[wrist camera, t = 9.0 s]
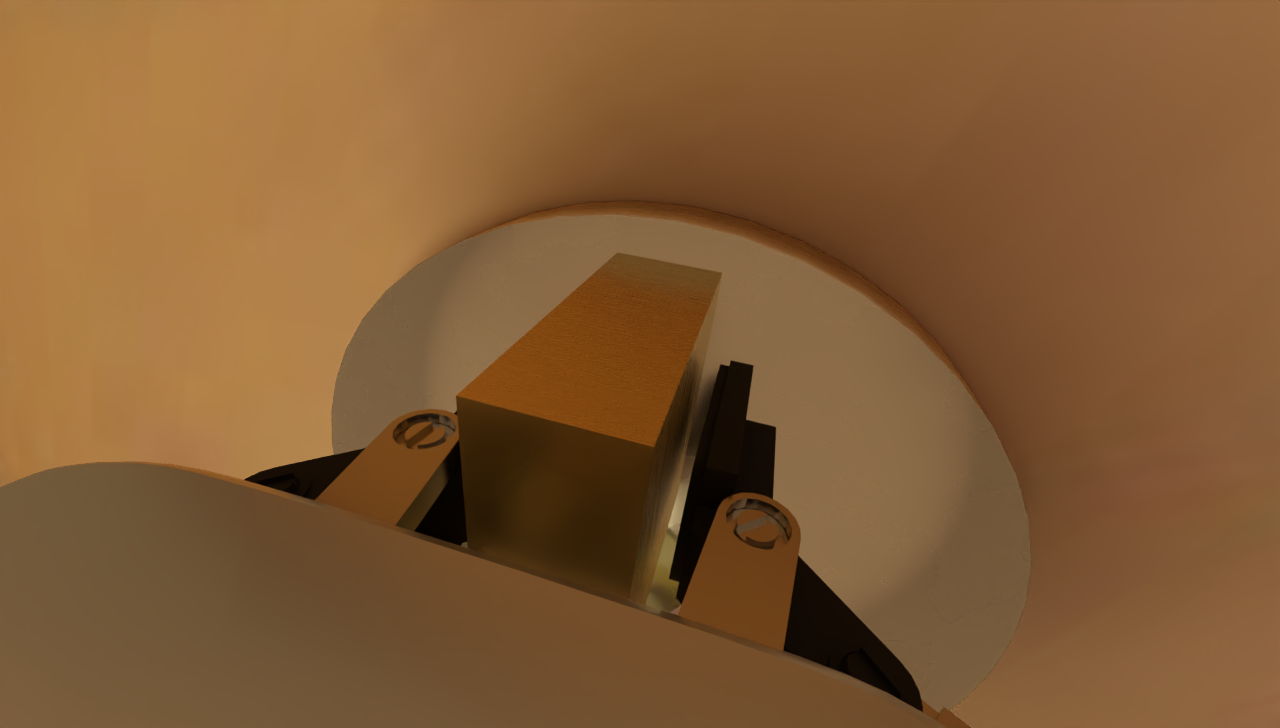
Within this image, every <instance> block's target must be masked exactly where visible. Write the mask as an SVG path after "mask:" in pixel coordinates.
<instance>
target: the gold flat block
mask: <svg viewBox="0 0 1280 728" xmlns="http://www.w3.org/2000/svg"><path fill="white" fill-rule="evenodd" d="M721 278H722V272H716V271H711V270H706V269H701V268H696V267H691V266H686V265H680V264H675V263H670V262H665V261H660V260H655V259H649V258H644V257H639V256H634V255H629V254H624V253H618V252H617V253H616V254H615V255H614V256H613V257H612V258H610V259H609V260H608V261H607V262H606V263H605V264H604V265H603V266H601V267H600V268H599V269H598V270H597V271H596V272H595V273H594V274H592V275H591V276H590V277H589V278H588V279H587V280H586V281H585V282H583V283H582V284H581V285H580V286H579V287H578V288H577V289H576V290H574V291H573V292H572V293H571V294H570V295H569V296H568V297H567V298H565V299H564V300H563V301H562V302H561V303H560V304H559V305H557V306H556V307H555V308H554V309H553V310H552V311H551V312H550V313H548V314H547V315H546V316H545V317H544V318H543V319H542V320H541V321H539V322H538V323H537V324H536V325H535V326H534V327H533V328H532V329H530V330H529V331H528V332H527V333H526V334H525V335H524V336H523V337H521V338H520V339H519V340H518V341H517V342H516V343H515V344H514V345H512V346H511V347H510V348H509V349H508V350H507V351H506V352H504V353H503V354H502V355H501V356H500V357H499V358H498V359H497V360H495V361H494V362H493V363H492V364H491V365H490V366H489V367H488V368H486V369H485V370H484V371H483V372H482V373H481V374H480V375H479V376H477V377H476V378H475V379H474V380H473V381H472V382H471V383H470V384H468V385H467V386H466V387H465V388H464V389H463V390H462V391H461V392H459V393H458V394H457V395H456V405H457V417H458V430H459V442H460V455H461V467H462V480H463V493H464V505H465V518H466V530H467V543H468V548H469V549H472V550H475V551H478V552H481V553H484V554H488V555H491V556H494V557H497V558H500V559H503V560H507V561H510V562H513V563H516V564H519V565H522V566H525V567H529V568H532V569H535V570H538V571H541V572H544V573H548V574H551V575H554V576H557V577H560V578H563V579H566V580H570V581H573V582H576V583H579V584H582V585H585V586H588V587H591V588H594V589H598V590H601V591H604V592H607V593H610V594H613V595H616V596H619V597H622V598H625V599H628V600H632V601H635V602H638V603H641V604H644V605H646V602H647V598H648V595H649V591H650V588H651V584H652V581H653V577H654V574H655V570H656V567H657V563H658V560H659V556H660V553H661V549H662V546H663V542H664V539H665V536H666V532H667V529H668V525H669V522H670V518H671V515H672V511H673V508H674V504H675V501H676V497H677V494H678V490H679V485H680V480H681V475H682V470H683V466H684V461H685V456H686V451H687V446H688V441H689V436H690V431H691V426H692V421H693V416H694V411H695V406H696V401H697V397H698V392H699V387H700V382H701V377H702V372H703V367H704V362H705V357H706V352H707V347H708V342H709V337H710V333H711V328H712V323H713V318H714V313H715V308H716V303H717V298H718V293H719V288H720V283H721Z"/></svg>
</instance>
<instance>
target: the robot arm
mask: <svg viewBox="0 0 1280 728" xmlns="http://www.w3.org/2000/svg"><path fill="white" fill-rule="evenodd" d="M753 367H754V365H750V364H745V363H741V362H736V361H732V360H731V361H730V365H729V366H727V365H722V364H720V367H719V370H718V374H717V378H716V382H715V385H714V389H713V393H712V397H711V400H710V404H709V408H708V412H707V415H706V419H705V423H704V426H703V430H702V434H701V438H700V441H699V445H698V449H697V453H696V456H695V460H694V465H693V469H692V473H691V478H690V482H689V487H688V491H687V496H686V501H685V505H684V510H683V515H682V519H681V524H680V529H679V533H678V538H677V543H676V547H675V552H674V557H673V561H672V566H671V570H670V575H669V579H670V580H674V581H677V582H679V585H678V590H677V594H676V598H675V599H677V600H679V602H680V603H681V608H680V610H679V613H678V615H675V614H672V613H669V612H666V611H663V610H659V609H656V608H653V607H650V606H647V605H644V604H641V603H638V602H635V601H632V600H628V599H625V598H622V597H619V596H616V595H613V594H610V593H607V592H604V591H601V590H598V589H594V588H591V587H588V586H585V585H582V584H579V583H576V582H573V581H570V580H566V579H563V578H560V577H557V576H554V575H551V574H548V573H544V572H541V571H538V570H535V569H532V568H529V567H525V566H522V565H519V564H516V563H513V562H510V561H507V560H503V559H500V558H497V557H494V556H491V555H488V554H484V553H481V552H478V551H475V550H472V549H469V548H468V543H467V530H466V518H465V505H464V493H463V480H462V467H461V455H460V442H459V430H458V417H457V411H456V412H455V413H452V412H448V411H445V410H439V409H425V410H417V411H414V412H410V413H407V414H405V415H402V416H400V417H398V418H397V419H395V420H394V421H393V422H391V423H390V424H389V425H388V426H387V427H386V428H385V429H384V430H383V431H382V432H381V433H380V434H379V435H378V436H377V437H376V438H375V439H374V440H373V441H372V442H371V443H370V444H369V445H368V446H367V447H366V448H363V449H358V450H354V451H349V452H345V453H340V454H335V455H331V456H326V457H321V458H317V459H312V460H307V461H303V462H298V463H294V464H289V465H284V466H280V467H275V468H272V469H268V470H265V471H261V472H259V473H257V474H255V475H252V476H250V477H248V478H246V479H245V480H241V479H238V478H234V477H230V476H226V475H222V474H218V473H214V472H210V471H206V470H200V469H195V468H189V467H184V466H178V465H173V464H161V463H149V462H95V463H85V464H76V465H70V466H63V467H57V468H53V469H48V470H45V471H41V472H38V473H35V474H33V475H30V476H27V477H25V478H22V479H19V480H17V481H14V482H12V483H10V484H7V485H5V486H2V487H0V728H971V727H969V726H968V725H967V724H966V723H964V722H963V721H962V720H960V719H959V718H958V717H956V716H955V715H954V714H952V713H951V712H950V711H949V710H947V709H946V708H945V707H943V708H942V709H941V710H940V711H939V713H938V712H937V711H936V710H935V709H933V708H932V707H931V706H929V705H928V704H927V703H926V702H924V701H923V700H922V699H921V696H920V691H919V689H918V687H917V685H916V683H915V681H914V679H913V677H912V675H911V674H910V673H909V672H908V670H907V669H906V668H905V667H904V665H903V664H902V663H901V661H900V660H899V659H898V658H897V657H896V656H895V655H894V654H893V653H892V652H891V651H890V650H889V649H888V648H887V647H886V646H885V645H884V644H883V643H882V642H881V640H880V639H879V638H878V637H877V636H876V635H875V634H874V633H873V632H872V631H871V630H870V629H869V628H868V627H867V626H866V625H865V624H864V623H863V622H862V621H861V620H860V619H859V618H858V617H857V616H856V615H855V614H854V612H853V611H852V610H851V609H850V608H849V607H848V606H847V605H846V604H845V603H844V602H843V601H842V600H841V599H840V598H839V597H838V596H837V595H836V594H835V593H834V592H833V591H832V590H831V589H830V588H829V587H828V586H827V584H826V583H825V582H824V581H823V580H822V579H821V578H820V577H819V576H818V575H817V574H816V573H815V572H814V571H813V570H812V569H811V568H810V567H809V566H808V565H807V564H806V563H805V562H804V561H803V560H802V559H801V558H800V556H799V555H798V554H799V548H800V541H801V531H800V527H799V524H798V522H797V520H796V518H795V517H794V516H793V515H792V513H791V512H790V511H789V510H788V509H787V508H786V507H784V506H783V505H782V504H780V503H779V502H778V501H775V500H773V488H774V467H775V445H776V427H775V426H771V425H767V424H762V423H758V422H754V421H750V420H746V417H747V410H748V403H749V396H750V388H751V381H752V374H753Z"/></svg>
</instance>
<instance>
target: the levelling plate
mask: <svg viewBox="0 0 1280 728" xmlns="http://www.w3.org/2000/svg"><path fill="white" fill-rule="evenodd" d="M617 252H618V253H624V254H629V255H634V256H639V257H644V258H649V259H655V260H660V261H665V262H670V263H675V264H680V265H686V266H691V267H696V268H701V269H706V270H711V271H716V272H722V278H721V283H720V288H719V293H718V298H717V303H716V308H715V313H714V318H713V323H712V328H711V333H710V337H709V342H708V347H707V352H706V357H705V362H704V367H703V372H702V377H701V382H700V387H699V392H698V397H697V401H696V406H695V411H694V416H693V421H692V426H691V431H690V436H689V441H688V446H687V451H686V456H685V461H684V466H683V470H682V475H681V480H680V485H679V490H678V494H677V497H676V501H675V504H674V508H673V511H672V515H671V518H670V522H669V525H668V529H667V532H666V536H665V539H664V542H663V546H662V549H661V553H660V556H659V560H658V563H657V567H656V570H655V574H654V577H653V581H652V584H651V588H650V591H649V595H648V598H647V602H646V605H647V606H650V607H653V608H656V609H659V610H663V611H666V612H669V613H672V614H675V615H678V613H679V610H680V608H681V603H680V602H679V600H677V599H675V598H676V594H677V590H678V585H679V582H677V581H674V580H670V579H669V575H670V570H671V566H672V561H673V557H674V552H675V547H676V543H677V538H678V533H679V529H680V524H681V519H682V515H683V510H684V505H685V501H686V496H687V491H688V487H689V482H690V478H691V473H692V469H693V465H694V460H695V456H696V453H697V449H698V445H699V441H700V438H701V434H702V430H703V426H704V423H705V419H706V415H707V412H708V408H709V404H710V400H711V397H712V393H713V389H714V385H715V382H716V378H717V374H718V370H719V367H720V364H722V365H727V366H729V365H730V361H731V360H732V361H736V362H741V363H745V364H750V365H754V367H753V374H752V381H751V388H750V396H749V403H748V410H747V417H746V420H750V421H754V422H758V423H762V424H767V425H771V426H775V427H776V445H775V467H774V488H773V500H775V501H778V502H779V503H780V504H782V505H783V506H784V507H786V508H787V509H788V510H789V511H790V512H791V513H792V515H793V516H794V517H795V518H796V520H797V522H798V524H799V527H800V531H801V541H800V548H799V554H798V555H799V556H800V558H801V559H802V560H803V561H804V562H805V563H806V564H807V565H808V566H809V567H810V568H811V569H812V570H813V571H814V572H815V573H816V574H817V575H818V576H819V577H820V578H821V579H822V580H823V581H824V582H825V583H826V584H827V586H828V587H829V588H830V589H831V590H832V591H833V592H834V593H835V594H836V595H837V596H838V597H839V598H840V599H841V600H842V601H843V602H844V603H845V604H846V605H847V606H848V607H849V608H850V609H851V610H852V611H853V612H854V614H855V615H856V616H857V617H858V618H859V619H860V620H861V621H862V622H863V623H864V624H865V625H866V626H867V627H868V628H869V629H870V630H871V631H872V632H873V633H874V634H875V635H876V636H877V637H878V638H879V639H880V640H881V642H882V643H883V644H884V645H885V646H886V647H887V648H888V649H889V650H890V651H891V652H892V653H893V654H894V655H895V656H896V657H897V658H898V659H899V660H900V661H901V663H902V664H903V665H904V667H905V668H906V669H907V670H908V672H909V673H910V674H911V675H912V677H913V679H914V681H915V683H916V685H917V687H918V689H919V691H920V696H921V699H922V700H923V701H924V702H926V703H927V704H928V705H929V706H931V707H932V708H933V709H935V710H936V711H937V712H938V713H939V711H940V710H941V709H942V708H943V707H945V708H946V709H947V710H950V709H951V708H953V707H954V706H955V705H957V704H958V703H960V702H961V701H962V700H964V699H965V698H966V697H967V696H968V695H969V694H970V693H971V692H972V691H973V690H974V689H975V688H976V687H977V686H978V685H979V684H980V683H981V682H982V681H983V680H984V679H985V678H986V677H987V676H988V675H989V674H990V672H991V671H992V670H993V668H994V667H995V665H996V664H997V662H998V661H999V659H1000V658H1001V656H1002V654H1003V653H1004V651H1005V650H1006V648H1007V647H1008V645H1009V644H1010V642H1011V640H1012V638H1013V635H1014V633H1015V630H1016V628H1017V625H1018V623H1019V620H1020V618H1021V615H1022V612H1023V610H1024V607H1025V603H1026V597H1027V591H1028V585H1029V579H1030V572H1031V566H1032V565H1031V547H1030V529H1029V520H1028V516H1027V512H1026V509H1025V505H1024V501H1023V497H1022V494H1021V490H1020V486H1019V482H1018V479H1017V475H1016V473H1015V471H1014V469H1013V467H1012V465H1011V463H1010V461H1009V459H1008V457H1007V455H1006V452H1005V450H1004V448H1003V446H1002V444H1001V442H1000V440H999V438H998V436H997V434H996V432H995V430H994V428H993V426H992V424H991V423H990V421H989V420H988V418H987V416H986V415H985V413H984V411H983V410H982V408H981V406H980V405H979V403H978V402H977V400H976V398H975V397H974V395H973V393H972V392H971V390H970V389H969V387H968V385H967V384H966V382H965V381H964V380H963V378H962V377H961V375H960V374H959V373H958V371H957V370H956V368H955V367H954V366H953V364H952V363H951V361H950V360H949V359H948V357H947V356H946V354H945V353H944V352H943V350H942V349H941V347H940V346H939V345H938V343H937V342H936V341H935V340H934V339H933V338H932V337H931V336H930V335H929V334H928V333H927V332H926V331H925V330H924V329H923V328H922V327H921V326H920V325H919V324H918V323H917V322H916V321H915V320H914V319H913V318H912V317H911V316H910V315H909V314H908V313H907V312H906V311H905V310H904V309H903V308H902V307H901V305H900V304H898V303H897V302H896V301H894V300H893V299H892V298H890V297H889V296H888V295H886V294H885V293H884V292H882V291H881V290H880V289H878V288H877V287H876V286H875V285H873V284H872V283H871V282H869V281H868V280H867V279H865V278H864V277H863V276H861V275H860V274H859V273H857V272H856V271H855V270H853V269H851V268H850V267H848V266H846V265H844V264H842V263H841V262H839V261H837V260H835V259H833V258H832V257H830V256H828V255H826V254H825V253H823V252H821V251H819V250H817V249H816V248H814V247H812V246H810V245H808V244H807V243H805V242H803V241H801V240H798V239H795V238H793V237H790V236H788V235H785V234H783V233H780V232H778V231H775V230H772V229H770V228H767V227H765V226H762V225H760V224H757V223H755V222H752V221H749V220H746V219H742V218H738V217H734V216H730V215H726V214H721V213H717V212H713V211H709V210H705V209H701V208H697V207H693V206H684V205H674V204H664V203H655V202H645V201H617V202H590V203H581V204H576V205H570V206H565V207H560V208H554V209H549V210H543V211H538V212H535V213H532V214H529V215H527V216H524V217H521V218H518V219H515V220H512V221H510V222H507V223H504V224H501V225H498V226H495V227H493V228H491V229H489V230H486V231H484V232H482V233H479V234H477V235H475V236H472V237H470V238H468V239H466V240H463V241H461V242H459V243H456V244H454V245H453V246H451V247H449V248H447V249H445V250H444V251H442V252H440V253H438V254H436V255H435V256H433V257H431V258H429V259H427V260H426V261H424V262H422V263H420V264H418V265H417V266H416V267H414V268H413V269H412V270H411V271H410V272H408V273H407V274H406V275H405V276H403V277H402V278H401V279H400V280H399V281H397V282H396V283H395V284H394V285H393V286H391V287H390V288H389V289H388V290H386V292H385V293H384V294H383V295H382V296H381V298H380V299H379V300H378V301H377V302H376V304H375V305H374V306H373V307H372V308H371V310H370V311H369V312H368V313H367V314H366V316H365V317H364V318H363V319H362V321H361V323H360V325H359V327H358V328H357V330H356V332H355V334H354V336H353V338H352V339H351V341H350V343H349V345H348V347H347V348H346V351H345V354H344V357H343V360H342V363H341V366H340V369H339V372H338V376H337V379H336V383H335V390H334V397H333V405H332V412H331V413H332V445H333V451H334V455H335V454H340V453H345V452H349V451H354V450H358V449H363V448H366V447H367V446H368V445H369V444H370V443H371V442H372V441H373V440H374V439H375V438H376V437H377V436H378V435H379V434H380V433H381V432H382V431H383V430H384V429H385V428H386V427H387V426H388V425H389V424H390V423H391V422H393V421H394V420H395V419H397V418H398V417H400V416H402V415H405V414H407V413H410V412H414V411H417V410H425V409H439V410H445V411H448V412H452V413H455V412H456V411H457V405H456V395H457V394H458V393H459V392H461V391H462V390H463V389H464V388H465V387H466V386H467V385H468V384H470V383H471V382H472V381H473V380H474V379H475V378H476V377H477V376H479V375H480V374H481V373H482V372H483V371H484V370H485V369H486V368H488V367H489V366H490V365H491V364H492V363H493V362H494V361H495V360H497V359H498V358H499V357H500V356H501V355H502V354H503V353H504V352H506V351H507V350H508V349H509V348H510V347H511V346H512V345H514V344H515V343H516V342H517V341H518V340H519V339H520V338H521V337H523V336H524V335H525V334H526V333H527V332H528V331H529V330H530V329H532V328H533V327H534V326H535V325H536V324H537V323H538V322H539V321H541V320H542V319H543V318H544V317H545V316H546V315H547V314H548V313H550V312H551V311H552V310H553V309H554V308H555V307H556V306H557V305H559V304H560V303H561V302H562V301H563V300H564V299H565V298H567V297H568V296H569V295H570V294H571V293H572V292H573V291H574V290H576V289H577V288H578V287H579V286H580V285H581V284H582V283H583V282H585V281H586V280H587V279H588V278H589V277H590V276H591V275H592V274H594V273H595V272H596V271H597V270H598V269H599V268H600V267H601V266H603V265H604V264H605V263H606V262H607V261H608V260H609V259H610V258H612V257H613V256H614V255H615V254H616V253H617Z"/></svg>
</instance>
